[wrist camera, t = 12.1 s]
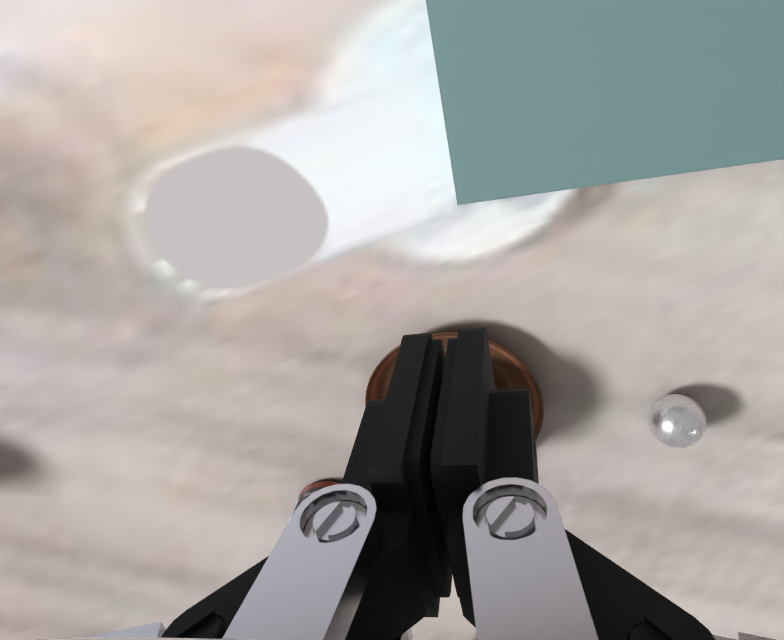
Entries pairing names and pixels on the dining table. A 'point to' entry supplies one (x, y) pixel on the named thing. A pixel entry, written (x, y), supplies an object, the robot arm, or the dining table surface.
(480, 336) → the robot arm
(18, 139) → the dining table surface
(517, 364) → the cup and saucer
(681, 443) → the ball
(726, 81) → the grey-green flat board
